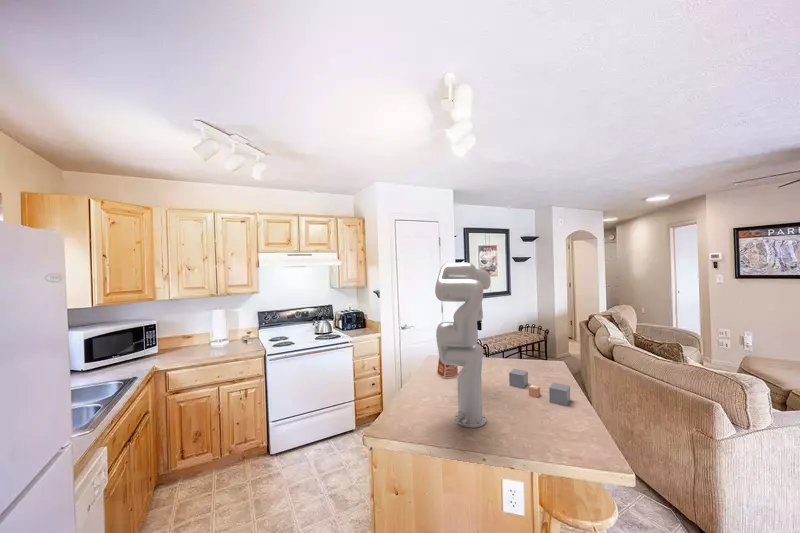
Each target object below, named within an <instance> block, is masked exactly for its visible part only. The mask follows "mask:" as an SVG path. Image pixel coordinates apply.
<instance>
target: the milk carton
mask: <svg viewBox="0 0 800 533" xmlns="http://www.w3.org/2000/svg"><path fill="white" fill-rule="evenodd" d="M458 368H459V367H458V366H454V365H445V364H443V363H442V362H441V361H440V358H439V357H438V363H437V369H436V376H439V377H441V378H442V379H444V380H446V379H454V378H457V377H458V374H459V369H458Z"/></svg>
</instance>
